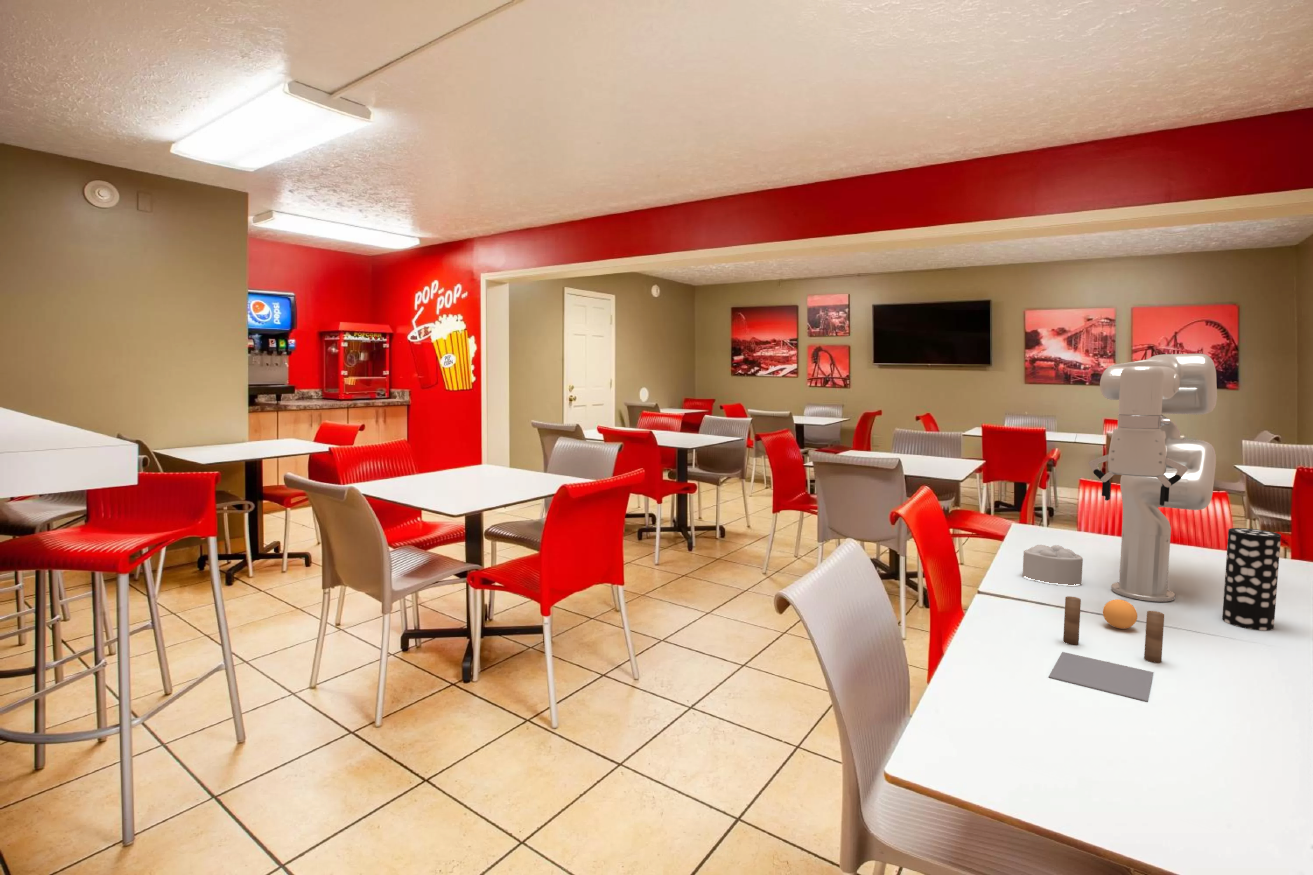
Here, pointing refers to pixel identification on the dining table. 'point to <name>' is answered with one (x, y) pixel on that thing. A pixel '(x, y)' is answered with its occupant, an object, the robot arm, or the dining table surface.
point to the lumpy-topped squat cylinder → (1053, 565)
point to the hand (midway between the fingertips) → (1134, 502)
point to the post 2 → (1154, 636)
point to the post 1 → (1072, 620)
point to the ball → (1120, 614)
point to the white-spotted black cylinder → (1251, 578)
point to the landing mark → (1103, 676)
